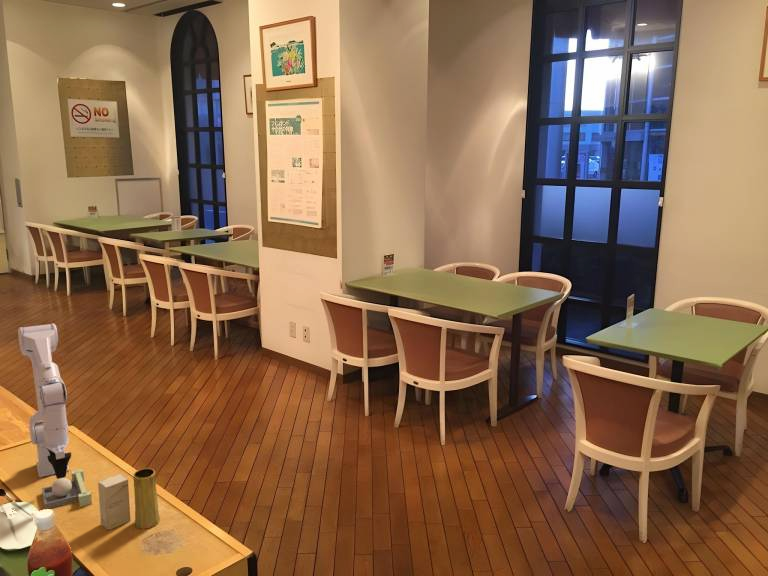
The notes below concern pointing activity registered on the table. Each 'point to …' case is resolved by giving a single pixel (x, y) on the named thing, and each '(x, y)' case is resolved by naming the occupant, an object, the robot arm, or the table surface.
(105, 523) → the skincare box
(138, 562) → the table surface
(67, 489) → the ball
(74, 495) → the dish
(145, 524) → the vase
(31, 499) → the table surface
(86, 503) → the rail
